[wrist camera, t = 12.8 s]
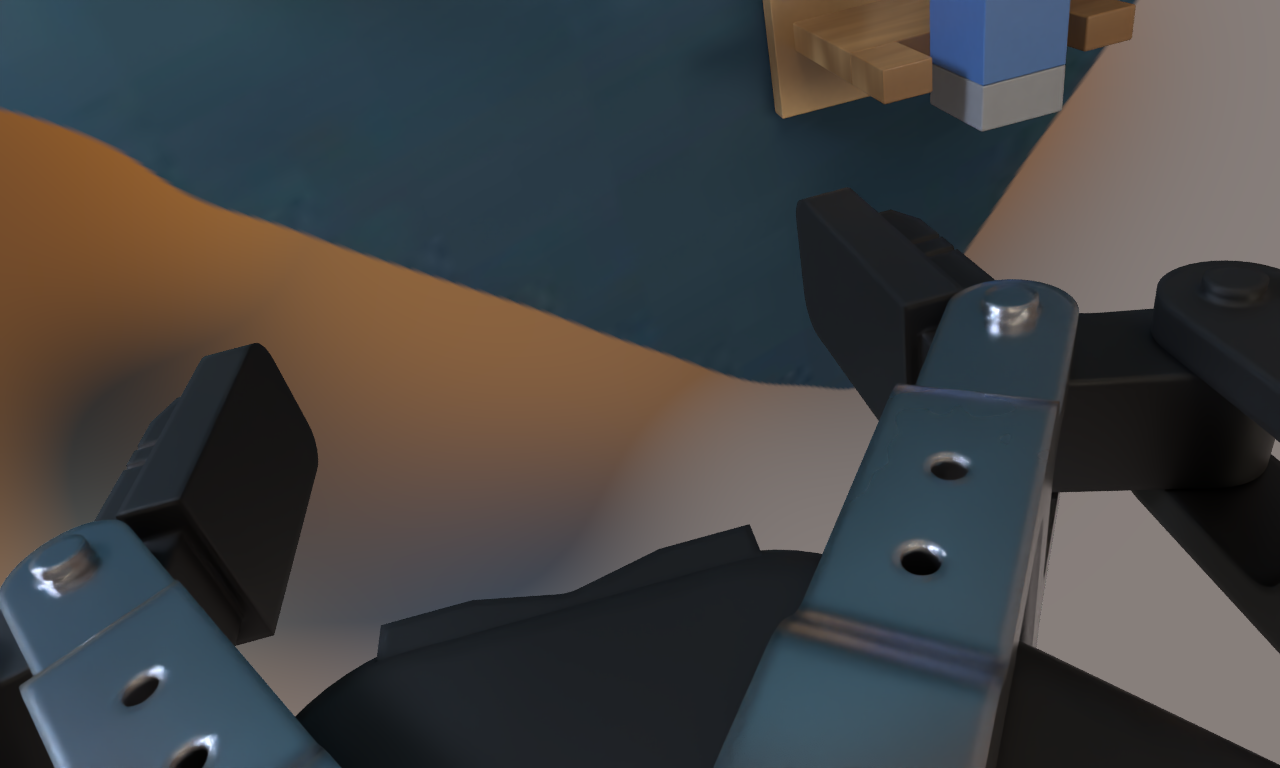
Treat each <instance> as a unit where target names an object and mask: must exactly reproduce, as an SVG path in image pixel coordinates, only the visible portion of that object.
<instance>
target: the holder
mask: <svg viewBox="0 0 1280 768" xmlns="http://www.w3.org/2000/svg"><path fill="white" fill-rule="evenodd" d="M763 7H764V16H765V24H766V33H767V42H768V51H769V59H770V68H771V77H772V86H773V95H774V103H775V112H776V113H777V114H778V115H779V116H781V117H782V118H783V119H784V118H788V117H792V116H795V115H799V114H803V113H807V112H811V111H815V110H818V109H822V108H826V107H830V106H834V105H837V104H841V103H845V102H849V101H853V100H857V99H860V98H864V97H868V96H872V97H873V98H875V99H876V100H878V101H880V102H881V103H883V104H888V103H892V102H895V101H899V100H903V99H907V98H911V97H915V96H918V95H922V94H926V93H930V92H932V91H933V85H932V57H930V0H763ZM1135 7H1136V6H1135V4H1130V3H1126V2H1121V1H1117V0H1070V12H1069V25H1068V37H1067V46H1069V47H1072V48H1075V49H1079V50H1082V51H1089V50H1092V49H1096V48H1100V47H1104V46H1108V45H1112V44H1115V43H1119V42H1123V41H1127V40H1130V39H1131V38H1132V32H1133V24H1134V15H1135Z"/></svg>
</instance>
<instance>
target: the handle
mask: <svg viewBox="0 0 1280 768" xmlns="http://www.w3.org/2000/svg"><path fill="white" fill-rule="evenodd" d="M1069 12H1070V0H930V57H932V85H933V91H932V92H931V104H932V105H934V106H936V107H937V108H939V109H941V110H943V111H945V112H947V113H948V114H950V115H952V116H954V117H956V118H958V119H960V120H961V121H963V122H965V123H967V124H969V125H971V126H972V127H974V128H976V129H978V130H980V131H986V130H990V129H994V128H997V127H1001V126H1005V125H1009V124H1013V123H1016V122H1020V121H1024V120H1028V119H1032V118H1035V117H1039V116H1043V115H1047V114H1050V113H1054V112H1058V111H1061V110H1062V102H1063V89H1064V76H1065V65H1064V64H1065V63H1066V50H1067V37H1068V25H1069Z"/></svg>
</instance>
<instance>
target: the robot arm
mask: <svg viewBox="0 0 1280 768" xmlns="http://www.w3.org/2000/svg"><path fill="white" fill-rule="evenodd" d="M796 220H797V230H798V239H799V248H800V258H801V267H802V276H803V286H804V294H805V301H806V306H807V310H808V314H809V317H810V320H811V323H812V325H813V327H814V330H815V331H816V333H817V335H818V336H819V338H820V339H821V341H822V342H823V343H824V345H825V346H826V348H827V349H828V350H829V352H830V353H831V355H832V356H833V357H834V359H835V360H836V362H837V363H838V364H839V366H840V367H841V369H842V370H843V371H844V373H845V374H846V376H847V377H848V378H849V380H850V381H851V383H852V384H853V385H854V387H855V388H856V390H857V391H858V392H859V394H860V395H861V397H862V398H863V399H864V401H865V402H866V404H867V405H868V406H869V408H870V409H871V411H872V412H873V413H874V415H875V416H876V417H877V419H878V420H879V422H878V425H877V427H876V430H875V432H874V434H873V436H872V439H871V441H870V443H869V446H868V448H867V450H866V453H865V455H864V458H863V460H862V462H861V465H860V467H859V469H858V472H857V474H856V476H855V479H854V481H853V484H852V486H851V488H850V490H849V493H848V495H847V498H846V500H845V502H844V505H843V507H842V509H841V512H840V514H839V516H838V519H837V521H836V523H835V526H834V528H833V531H832V533H831V535H830V538H829V540H828V542H827V545H826V547H825V549H824V552H823V554H819V553H812V552H804V551H797V550H762V551H760V549H759V546H758V544H757V542H756V539H755V537H754V534H753V532H752V529H751V527H750V525H745V526H741V527H738V528H734V529H730V530H727V531H723V532H720V533H716V534H712V535H708V536H705V537H701V538H698V539H694V540H690V541H687V542H683V543H680V544H676V545H672V546H668V547H665V548H662V549H658V550H656V551H655V552H652V553H650V554H648V555H646V556H644V557H642V558H640V559H638V560H637V561H634V562H632V563H630V564H628V565H626V566H624V567H622V568H620V569H618V570H616V571H614V572H612V573H610V574H608V575H606V576H604V577H602V578H600V579H598V580H596V581H593V582H591V583H589V584H587V585H585V586H583V587H581V588H579V589H577V590H575V591H572V592H569V593H565V594H557V595H543V596H528V597H514V598H499V599H484V600H472V601H468V602H465V603H461V604H458V605H453V606H450V607H446V608H443V609H439V610H435V611H432V612H428V613H424V614H421V615H417V616H413V617H410V618H406V619H403V620H399V621H395V622H392V623H388V624H385V625H381V629H380V637H379V645H378V653H377V657H376V658H374V659H372V660H370V661H368V662H366V663H364V664H363V665H361V666H359V667H358V668H356V669H355V670H353V671H351V672H350V673H348V674H346V675H345V676H344V677H342V678H341V679H339V680H338V681H336V682H335V683H334V684H332V685H331V686H330V687H328V688H327V689H326V690H324V691H323V692H322V693H321V694H320V695H318V696H317V697H316V698H315V699H314V700H312V701H311V702H310V703H309V704H308V705H307V706H306V707H305V708H304V709H303V710H302V711H301V712H299V714H298V715H297V716H294V715H293V714H292V713H291V712H290V711H289V709H288V708H287V707H286V706H285V705H284V704H283V702H282V701H281V700H280V699H279V698H278V696H277V695H276V694H275V693H274V692H273V691H272V689H271V688H270V687H269V686H268V685H267V683H266V682H265V681H264V680H263V679H262V678H261V676H260V675H259V674H258V673H257V672H256V671H255V669H254V668H253V667H252V666H251V665H250V664H249V662H248V661H247V660H246V659H245V658H244V657H243V655H242V654H241V653H240V652H239V651H238V649H237V648H236V647H235V646H236V645H240V644H244V643H247V642H251V641H254V640H258V639H262V638H266V637H269V636H273V635H274V633H275V629H276V625H277V621H278V618H279V614H280V610H281V606H282V602H283V599H284V595H285V591H286V587H287V583H288V579H289V575H290V572H291V568H292V564H293V560H294V556H295V552H296V549H297V545H298V541H299V537H300V533H301V529H302V525H303V522H304V518H305V514H306V509H307V506H308V502H309V499H310V494H311V491H312V487H313V483H314V479H315V475H316V472H317V467H318V453H317V447H316V443H315V439H314V436H313V433H312V431H311V429H310V427H309V424H308V422H307V421H306V419H305V417H304V415H303V413H302V412H301V410H300V408H299V406H298V404H297V402H296V400H295V399H294V397H293V395H292V393H291V391H290V389H289V387H288V386H287V384H286V382H285V380H284V378H283V376H282V375H281V373H280V371H279V369H278V367H277V365H276V363H275V362H274V360H273V358H272V357H271V355H270V353H269V352H268V351H267V350H266V348H265V347H263V346H262V345H261V344H259V343H254V344H250V345H246V346H242V347H238V348H234V349H231V350H227V351H223V352H219V353H216V354H212V355H208V356H205V357H203V358H202V359H201V361H200V363H199V364H198V366H197V368H196V370H195V372H194V374H193V375H192V377H191V379H190V381H189V383H188V385H187V386H186V388H185V390H184V392H183V394H182V396H181V397H179V398H177V399H176V400H175V401H173V402H172V403H171V404H170V405H169V406H168V407H167V408H166V409H165V410H164V411H163V412H162V413H161V414H159V415H158V416H157V417H156V418H155V419H154V420H153V421H152V422H151V423H150V425H149V427H148V429H147V430H146V432H145V434H144V436H143V437H142V439H141V441H140V443H139V444H138V448H139V450H136V451H134V453H133V455H132V456H131V458H130V460H129V462H128V464H127V465H126V466H127V470H124V471H123V472H122V474H121V476H120V477H119V479H118V481H117V483H116V484H115V486H114V488H113V489H112V491H111V493H110V495H109V497H108V498H107V500H106V502H105V503H104V505H103V507H102V509H101V511H100V512H99V514H98V516H97V517H96V519H95V521H94V522H90V523H87V524H84V525H81V526H78V527H76V528H73V529H71V530H69V531H66V532H64V533H62V534H60V535H59V536H57V537H55V538H53V539H51V540H50V541H48V542H47V543H45V544H43V545H42V546H40V547H39V548H38V549H36V550H35V551H34V552H32V553H31V554H30V555H28V556H27V557H26V558H25V559H24V560H23V561H21V562H20V563H19V564H18V565H17V566H16V568H15V569H14V570H13V571H12V572H11V573H10V574H9V576H8V577H7V578H6V580H5V582H4V583H3V585H2V586H1V588H0V768H1280V765H1279V764H1276V763H1275V762H1273V761H1270V760H1268V759H1266V758H1264V757H1262V756H1260V755H1258V754H1256V753H1253V752H1252V751H1250V750H1247V749H1245V748H1243V747H1241V746H1239V745H1237V744H1235V743H1233V742H1231V741H1229V740H1226V739H1224V738H1222V737H1220V736H1218V735H1216V734H1214V733H1212V732H1210V731H1208V730H1206V729H1204V728H1202V727H1199V726H1197V725H1195V724H1193V723H1191V722H1189V721H1187V720H1185V719H1183V718H1181V717H1179V716H1177V715H1174V714H1172V713H1170V712H1168V711H1166V710H1164V709H1161V708H1160V707H1158V706H1156V705H1154V704H1151V703H1149V702H1147V701H1145V700H1143V699H1141V698H1139V697H1137V696H1135V695H1132V694H1131V693H1129V692H1126V691H1124V690H1122V689H1120V688H1118V687H1116V686H1114V685H1112V684H1110V683H1108V682H1106V681H1103V680H1101V679H1099V678H1097V677H1095V676H1093V675H1091V674H1089V673H1087V672H1085V671H1083V670H1080V669H1078V668H1076V667H1074V666H1072V665H1070V664H1068V663H1066V662H1064V661H1062V660H1060V659H1058V658H1056V657H1054V656H1051V655H1049V654H1047V653H1045V652H1043V651H1041V650H1039V649H1037V648H1036V646H1037V638H1038V629H1039V622H1040V615H1041V608H1042V601H1043V595H1044V589H1045V583H1046V577H1047V571H1048V565H1049V559H1050V553H1051V547H1052V541H1053V535H1054V529H1055V523H1056V517H1057V511H1058V504H1059V498H1060V492H1082V491H1083V492H1084V491H1120V490H1121V491H1122V490H1131V491H1132V492H1133V494H1134V495H1135V496H1136V497H1137V499H1138V500H1139V501H1140V502H1141V503H1142V504H1143V505H1144V506H1145V507H1146V508H1147V509H1148V511H1149V512H1150V513H1151V514H1152V515H1153V516H1154V517H1155V518H1156V519H1157V520H1158V521H1159V523H1160V524H1161V525H1162V526H1163V527H1164V528H1165V529H1166V530H1167V531H1168V532H1169V533H1170V535H1171V536H1172V537H1173V538H1174V539H1175V540H1176V541H1177V542H1178V543H1179V544H1180V545H1181V547H1182V548H1183V549H1184V550H1185V551H1186V552H1187V553H1188V554H1189V555H1190V556H1191V557H1192V559H1193V560H1194V561H1195V562H1196V563H1197V564H1198V565H1199V566H1200V567H1201V568H1202V569H1203V571H1204V572H1205V573H1206V574H1207V575H1208V576H1209V577H1210V578H1211V579H1212V580H1213V581H1214V583H1215V584H1216V585H1217V586H1218V587H1219V588H1220V589H1221V590H1222V591H1223V592H1224V593H1225V594H1226V596H1227V597H1229V599H1230V600H1231V601H1232V602H1233V603H1234V604H1235V605H1236V606H1237V608H1238V609H1239V610H1240V611H1241V612H1242V613H1243V614H1244V615H1245V616H1246V617H1247V618H1248V620H1249V621H1250V622H1251V623H1252V624H1253V625H1254V626H1255V627H1256V628H1257V629H1258V631H1260V633H1261V634H1262V635H1263V636H1264V637H1265V638H1266V639H1267V640H1268V641H1269V642H1270V643H1271V645H1272V646H1273V647H1274V648H1275V649H1276V650H1277V651H1278V652H1279V653H1280V461H1279V460H1278V459H1276V458H1275V457H1274V456H1273V455H1271V452H1272V448H1273V444H1274V441H1275V439H1276V440H1278V441H1279V442H1280V269H1278V268H1274V267H1270V266H1266V265H1262V264H1257V263H1250V262H1242V261H1208V262H1199V263H1194V264H1189V265H1186V266H1183V267H1179V268H1177V269H1174V270H1172V271H1171V272H1169V273H1167V274H1166V275H1164V276H1163V277H1162V278H1161V279H1160V281H1159V283H1158V285H1157V291H1156V297H1155V303H1154V309H1145V310H1131V311H1117V312H1104V313H1079V308H1078V305H1077V303H1076V301H1075V300H1074V299H1073V297H1071V296H1070V295H1069V294H1068V293H1066V292H1065V291H1063V290H1061V289H1059V288H1057V287H1054V286H1052V285H1048V284H1045V283H1041V282H1036V281H1029V280H1016V279H1014V280H1013V279H1012V280H1011V279H1007V280H994V279H993V278H992V277H991V276H990V275H988V274H987V273H986V272H985V271H983V270H982V269H981V268H980V267H978V266H977V265H976V264H975V263H974V262H972V261H971V260H970V259H969V258H968V257H966V256H965V255H964V254H963V253H961V252H960V251H959V250H958V249H956V250H954V246H953V245H952V244H950V243H949V242H948V241H947V240H945V239H944V238H943V237H939V234H938V233H937V232H936V231H934V230H933V229H932V228H931V227H930V226H928V225H927V224H926V223H925V222H923V221H922V220H921V219H919V218H916V217H913V216H909V215H906V214H903V213H900V212H897V211H894V210H887V211H883V212H880V213H878V212H877V211H876V210H875V209H873V208H872V207H871V206H870V205H869V204H868V203H867V202H866V201H864V200H863V199H862V198H861V197H860V196H859V195H858V194H857V193H855V192H854V191H853V190H852V189H851V188H848V187H847V188H843V189H840V190H836V191H832V192H828V193H825V194H821V195H817V196H813V197H809V198H806V199H802V200H799V201H798V203H797V207H796Z"/></svg>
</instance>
